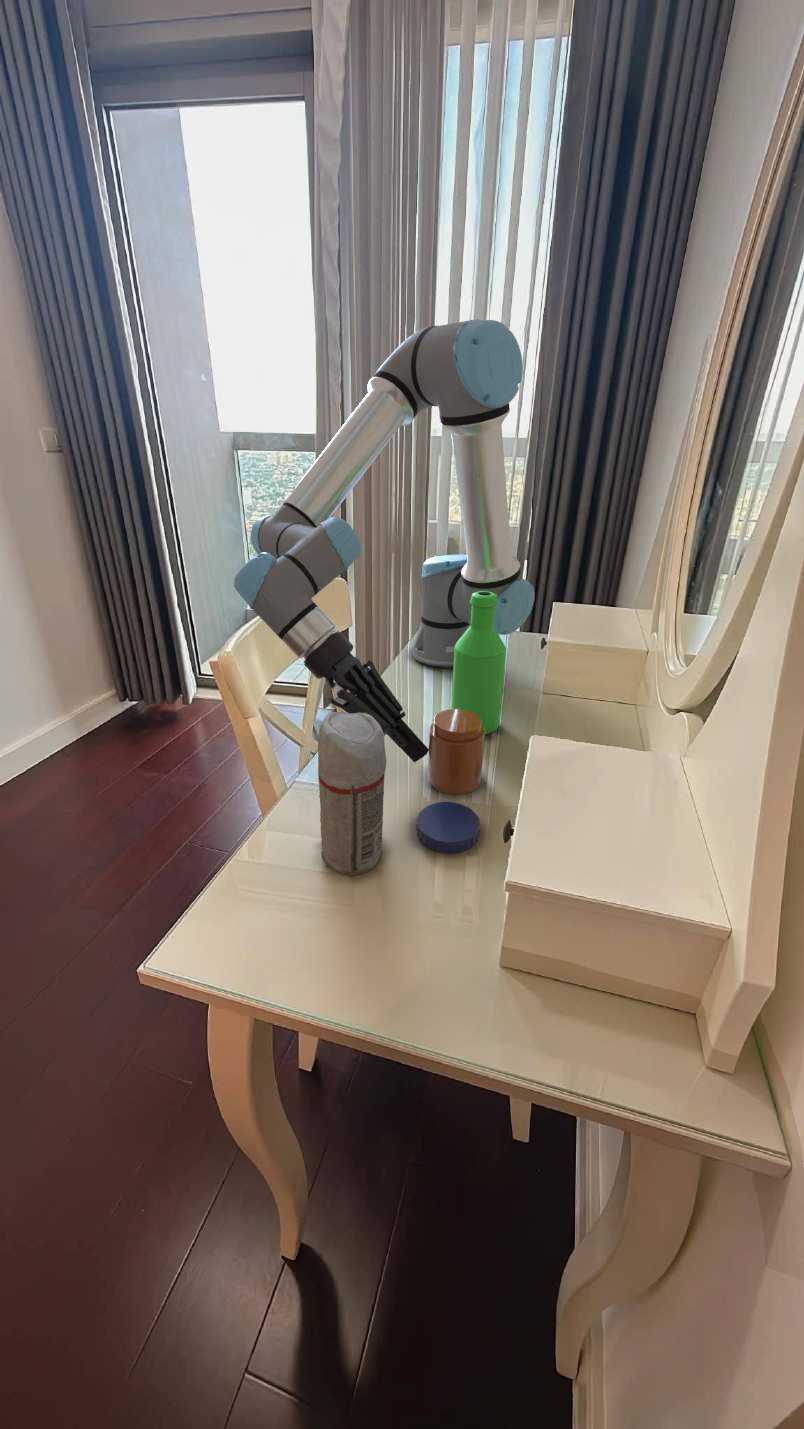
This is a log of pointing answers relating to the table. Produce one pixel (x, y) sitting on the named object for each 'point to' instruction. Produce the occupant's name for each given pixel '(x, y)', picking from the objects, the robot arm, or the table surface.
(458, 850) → the lid
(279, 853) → the table surface
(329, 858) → the spray can
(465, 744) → the jar
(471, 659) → the bottle
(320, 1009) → the table surface
